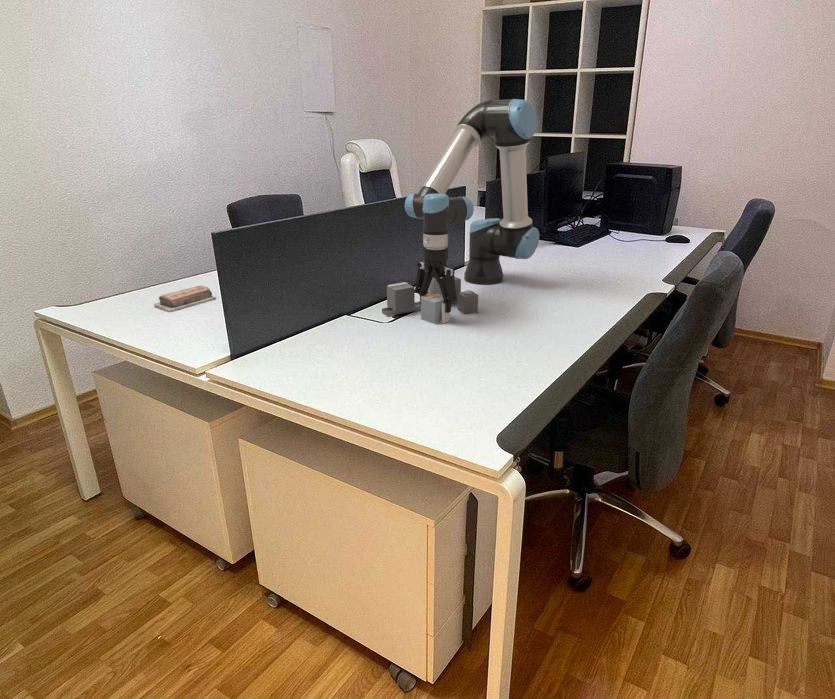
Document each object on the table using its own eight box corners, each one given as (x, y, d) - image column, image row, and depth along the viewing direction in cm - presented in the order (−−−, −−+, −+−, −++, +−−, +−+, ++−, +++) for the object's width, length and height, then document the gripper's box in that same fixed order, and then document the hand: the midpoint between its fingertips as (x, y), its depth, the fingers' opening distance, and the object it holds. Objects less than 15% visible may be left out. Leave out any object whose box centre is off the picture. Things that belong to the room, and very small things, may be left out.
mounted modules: (451, 294, 196) (451, 274, 193) (460, 298, 191) (460, 278, 188) (387, 306, 185) (386, 284, 182) (395, 311, 180) (395, 289, 177)
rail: (458, 298, 197) (458, 294, 196) (464, 301, 194) (465, 297, 193) (381, 313, 183) (381, 308, 183) (387, 316, 180) (387, 311, 180)
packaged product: (198, 282, 203) (214, 287, 198) (200, 295, 205) (216, 300, 200) (151, 294, 190) (167, 300, 185) (153, 308, 192) (169, 313, 186)
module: (436, 314, 182) (436, 293, 179) (449, 318, 178) (450, 296, 175) (421, 319, 177) (420, 297, 175) (434, 324, 173) (434, 302, 171)
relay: (471, 308, 187) (471, 288, 185) (477, 312, 183) (478, 292, 180) (457, 309, 186) (458, 290, 183) (463, 314, 181) (464, 294, 179)
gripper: (402, 244, 173) (403, 313, 182) (453, 254, 159) (452, 329, 168) (419, 240, 178) (419, 308, 187) (470, 250, 164) (468, 323, 173)
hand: (435, 318), depth 177 cm, fingers open, 8 cm apart
